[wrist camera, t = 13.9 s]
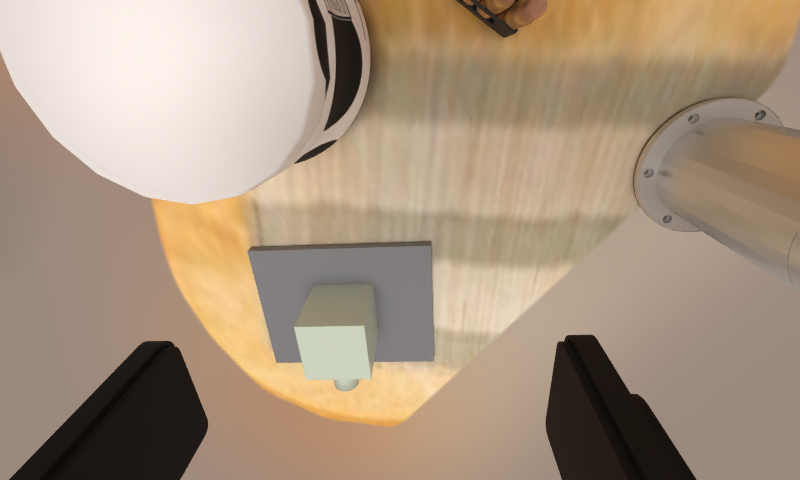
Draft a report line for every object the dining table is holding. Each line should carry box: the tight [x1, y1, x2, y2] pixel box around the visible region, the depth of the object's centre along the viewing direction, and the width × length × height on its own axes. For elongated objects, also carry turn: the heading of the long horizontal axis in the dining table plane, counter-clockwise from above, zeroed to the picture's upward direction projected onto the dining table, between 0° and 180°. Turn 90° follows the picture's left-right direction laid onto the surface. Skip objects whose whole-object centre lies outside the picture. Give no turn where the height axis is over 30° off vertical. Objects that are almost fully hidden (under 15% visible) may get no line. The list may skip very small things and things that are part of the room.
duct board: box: [248, 242, 434, 363], centre depth 43 cm, size 20×16×6 cm
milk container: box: [0, 0, 370, 204], centre depth 26 cm, size 17×17×18 cm
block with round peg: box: [294, 284, 378, 391], centre depth 42 cm, size 10×7×7 cm
